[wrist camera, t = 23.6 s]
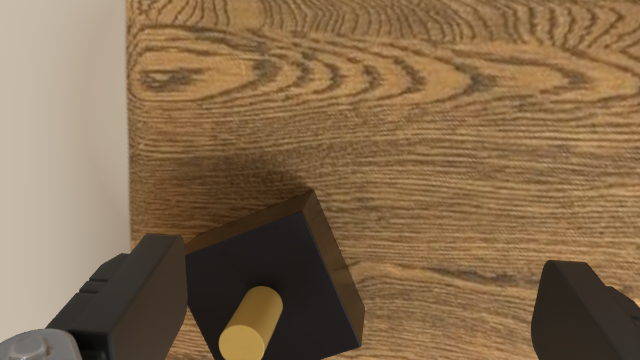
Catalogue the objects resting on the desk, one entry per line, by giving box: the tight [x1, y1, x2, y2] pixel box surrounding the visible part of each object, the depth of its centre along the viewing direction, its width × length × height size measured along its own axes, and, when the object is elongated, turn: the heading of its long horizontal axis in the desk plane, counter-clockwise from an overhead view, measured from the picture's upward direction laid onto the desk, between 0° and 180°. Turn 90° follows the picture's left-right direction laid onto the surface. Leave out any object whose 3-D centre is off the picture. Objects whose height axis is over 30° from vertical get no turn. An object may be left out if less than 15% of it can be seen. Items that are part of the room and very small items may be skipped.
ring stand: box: [185, 190, 365, 360], centre depth 32 cm, size 9×9×10 cm
